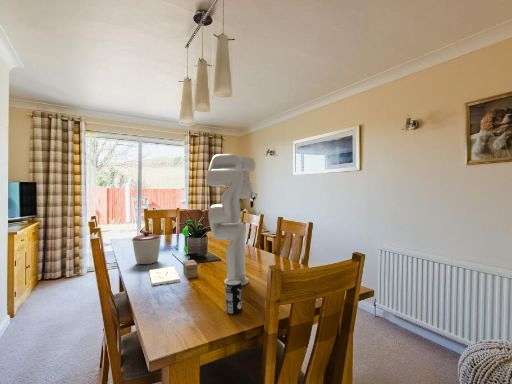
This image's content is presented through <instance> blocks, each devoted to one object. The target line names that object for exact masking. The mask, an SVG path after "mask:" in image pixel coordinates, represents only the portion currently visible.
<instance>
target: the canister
mask: <svg viewBox="0 0 512 384" xmlns="http://www.w3.org/2000/svg"><path fill="white" fill-rule="evenodd" d="M161 238H162V236H160V235H158V234H154V233H151V234H150V232H149V231H148V230H144V231H143V234H140V235H137V236H134V237H132V239H131V242H132V247H133V252H134V257H135V262H136V263H137V264H138V265H140V264H148V265H151V264H152V263H153V264H155V263H157V262H158V260H159V255H160V242H161Z"/></svg>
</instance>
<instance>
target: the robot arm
mask: <svg viewBox="0 0 512 384" xmlns="http://www.w3.org/2000/svg"><path fill="white" fill-rule="evenodd" d="M255 170H256V161H255V159H254V158H253V157H248V156H241V155H238V154H235V153H218V154H214V155H213V157H212V158H211V160H210V163H209V166H208V170H207V172H206V177H205V178H206V182H207V185H209V186H210V187H213V188H214V187H215V188H216V187H217V188H218V187H219V188H220V187H221V188H222V187H225V188H226V187H228V188H227V189H226V190H225V191H224V192H223V194H222V195H221V197H220V204H219V203H218V204H212V205H211V206H210V207H209V209H208V212H207V213H208V223H209V227H210V230H211V235H212V238H213V239H214V240H217V241H218V240H219V241H230V242H229V244H228V245H227V246H226V248H225V249H226V250H225V251H226V254H225V255H226V278H225V279H224V280H223V283H224V284H225V285H226V282H227V281H228V280H232V279H237V280H240V281H241V284H242V287H243V286H245V285H247V284H248V283H249V281H250V280H249V278H248V277H247V276H246V234H247V233H246V232H247V225H246V224H245V223H244V222H243V221H241V218H242V212H241V204H240V199H249V200H250V206H249V207H250V208H253V207H254V201H255V200H256V199H257V197H258V193H257V192H254V191H253V190H252V189H253V188H252V182H250V172H253V171H255Z"/></svg>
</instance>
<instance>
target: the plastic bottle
mask: <svg viewBox="0 0 512 384" xmlns="http://www.w3.org/2000/svg"><path fill="white" fill-rule="evenodd" d="M193 221H194V220H193V219H188V220H186V224H187V225H188V224H192V225H193V223H194V222H193ZM187 225H185V227H184V228H183V229H182V235H183V236H184V247H183V252H184V254H186V255H187V238H188V233H189V231H188V226H187Z"/></svg>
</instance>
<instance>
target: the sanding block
mask: <svg viewBox="0 0 512 384" xmlns="http://www.w3.org/2000/svg"><path fill="white" fill-rule="evenodd" d="M182 266H183V267H182V269H183V274H184V276H185V278H186V279H191V278H195V277H199V276H198V274H199V273H198V263H197V262H196V261H195V260H194V259H188V260H183V261H182Z"/></svg>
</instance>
